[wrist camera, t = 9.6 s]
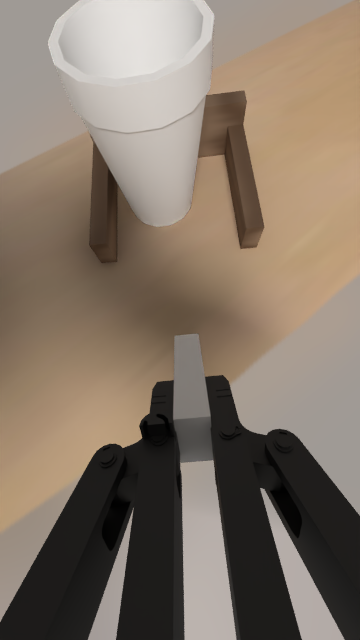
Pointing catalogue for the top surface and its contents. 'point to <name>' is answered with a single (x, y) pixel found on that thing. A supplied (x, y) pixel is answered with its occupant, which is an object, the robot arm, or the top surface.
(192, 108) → the foam cup
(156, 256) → the top surface
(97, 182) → the corral
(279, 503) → the robot arm
